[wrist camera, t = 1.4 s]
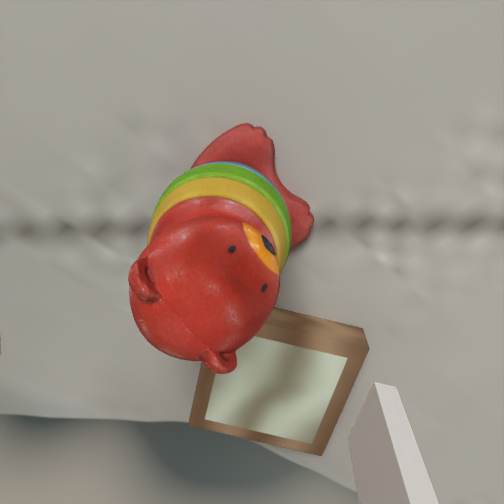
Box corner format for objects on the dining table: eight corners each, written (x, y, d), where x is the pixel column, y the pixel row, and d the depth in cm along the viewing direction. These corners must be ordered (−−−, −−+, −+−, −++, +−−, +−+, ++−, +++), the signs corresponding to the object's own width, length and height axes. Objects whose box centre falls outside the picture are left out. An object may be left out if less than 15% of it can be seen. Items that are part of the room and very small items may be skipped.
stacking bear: (322, 228, 32) (361, 373, 16) (222, 279, 35) (167, 448, 18) (256, 112, 29) (220, 140, 12) (152, 178, 31) (9, 274, 15)
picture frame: (194, 402, 41) (187, 426, 38) (218, 294, 35) (212, 312, 32) (319, 431, 41) (321, 457, 38) (362, 328, 35) (369, 349, 32)
